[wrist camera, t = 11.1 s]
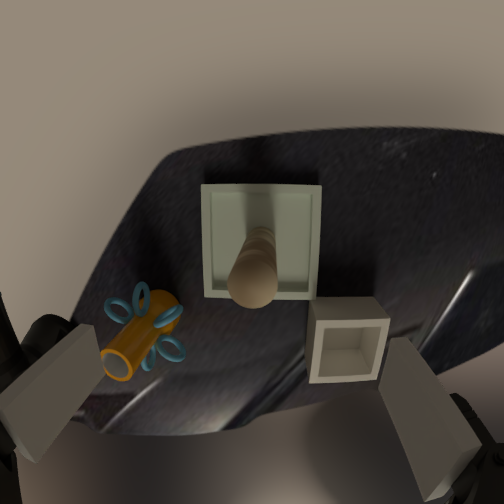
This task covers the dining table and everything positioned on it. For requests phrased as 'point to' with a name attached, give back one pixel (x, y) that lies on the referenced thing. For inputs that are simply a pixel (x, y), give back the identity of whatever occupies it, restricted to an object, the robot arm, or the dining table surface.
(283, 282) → the tray
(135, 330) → the tube with teal loops
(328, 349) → the hollow square block
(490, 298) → the dining table surface
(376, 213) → the dining table surface
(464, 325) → the dining table surface
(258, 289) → the dowel
